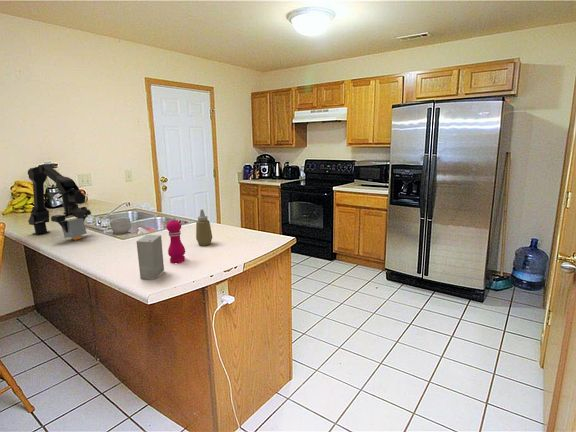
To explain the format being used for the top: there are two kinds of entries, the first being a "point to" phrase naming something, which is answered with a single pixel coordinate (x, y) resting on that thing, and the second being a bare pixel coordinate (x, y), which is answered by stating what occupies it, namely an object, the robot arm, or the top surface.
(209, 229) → the squeeze bottle
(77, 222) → the grey block
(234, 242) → the top surface
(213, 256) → the top surface
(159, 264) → the skincare box
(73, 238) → the ball
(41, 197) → the robot arm
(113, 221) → the teacup
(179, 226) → the pepper mill
